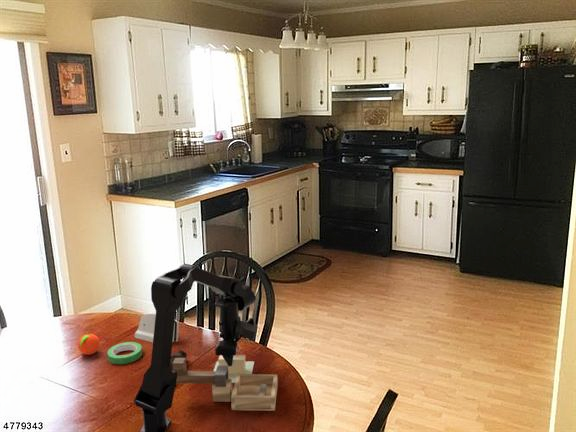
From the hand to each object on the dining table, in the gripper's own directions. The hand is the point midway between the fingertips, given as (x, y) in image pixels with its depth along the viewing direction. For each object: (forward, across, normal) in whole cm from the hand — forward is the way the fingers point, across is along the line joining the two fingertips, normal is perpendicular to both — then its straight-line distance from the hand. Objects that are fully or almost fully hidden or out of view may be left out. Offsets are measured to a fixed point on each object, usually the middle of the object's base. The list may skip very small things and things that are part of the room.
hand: (231, 362), depth 159 cm
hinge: (+4, +23, +31) cm, 39 cm away
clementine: (+4, +11, +51) cm, 52 cm away
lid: (+4, 0, 0) cm, 4 cm away
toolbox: (+4, -14, -6) cm, 16 cm away
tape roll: (+4, +10, +38) cm, 40 cm away
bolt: (+4, +1, +19) cm, 19 cm away
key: (-2, -14, +8) cm, 16 cm away
